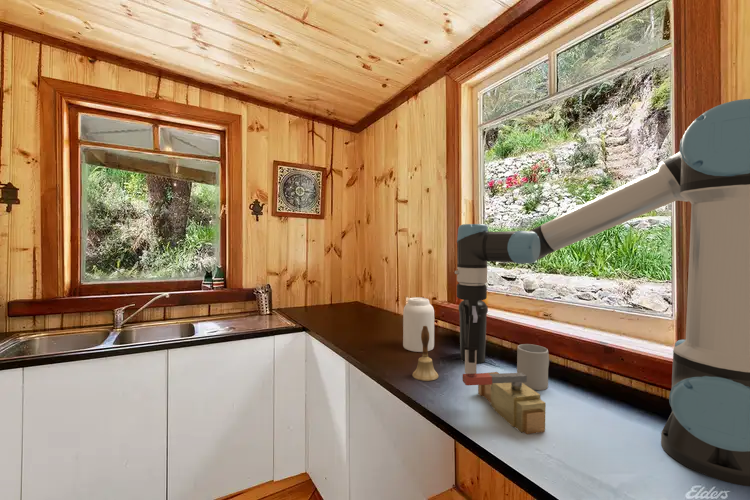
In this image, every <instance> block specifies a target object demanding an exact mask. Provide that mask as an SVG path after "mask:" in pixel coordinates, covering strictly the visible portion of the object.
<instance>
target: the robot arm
mask: <svg viewBox="0 0 750 500" xmlns="http://www.w3.org/2000/svg"><path fill="white" fill-rule="evenodd" d="M676 201H678V202H679V201H681V202H689V203H690V204H691V205H690V207H691V209H690V210H691V211H690V228H689V229H690V231H689V232H690V233H689V251H688V253H689V255H688V277H687V301H686V302H687V303H686V321H685V323H686V324H685V339H679V340H677V341H676V342H675V343H674V347H673V348H672V349H673V351H672V353H673V355H672V374H671V390H670V391H669V396H668V402H669V406H670V407H671V413H670V415H669V417H668V419H667V421H666V422H665V424H664V426H663V428H662V430H661V436H660V444H661V448H662V449H663V451H665V453H667V454H668V455H669V457H671V458H673V459H674V460H675V461H677V462H678V463H680V464H681V465H683V466H685V467H687V468H688V469H690V470H693V471H695V472H697V473H699V474H702V475H705V476H707V477H709V478H712V479H715V480H717V481H721V482H725V483H729V484H732V485H733V484H734V485H737V486H741V487H742V486H743V487H750V98H744V99H743V98H742V99H736V100H735V99H734V100H731V101H729V102H728V101H727V102H724V103H721V104H718V105H716V106H714V107H712V108H710V109H708V110H706V111H705V112H703V113H702V114H700V115H699V116H697V118H695V119H694V120H693V121H692V123H691V124H690V125H688V127H687V128H686V130H685V131H684V133H683V135H682V138H681V139H680V143H679V151H678V152H677V153H675V154H673V155H671V156H669V157H668V158H665V159H663V160H661V161H660V162H659V164H658V166H657V168H656V169H654V170H652V171H650V172H648V173H646V174H644V175H642V176H640V177H637V178H636V179H634V180H631V181H629V182H627V183H626V184H623V185H621V186H619V187H617V188H614V189H613V190H610V191H608V192H607V193H605V194H603V195H602V194H601V196H598V197H596V198H594V199H592V200H589V201H588V202H586V203H584V204H581V205H580V206H577V207H575V208H573V209H571V210H569V211H567V212H565V213H563V214H561V215H558V216H556V217H555V218H553V219H550V220H549V221H547V222H545V223H543V224H540V225H539V226H536V227H533V228H532V229H530V230H509V231H508V230H507V231H506V230H505V231H489V227H488V225H487V224H484V223H465V224H460V225H459V226H458V228H457V240H456V246H457V247H456V248H457V253H456V255H457V256H456V257H457V259H456V260H457V262H456V264H457V265H456V269H457V270H454V274H455V275H456V281H457V284H456V297H457V299H459V300H461V301H463V300H465V305H463V313H464V318H463V319H464V342H465V347H464V350H465V362H464V374H475V373H477V364H476V362H477V350H478V349H479V347H478V345H479V329H480V320H481V316H480V315H479V314H480V307H479V306H478V301H479V300H482V301H485V300H486V299H487V292H488V289H487V288H488V286H487V285H486V284H487V282H488V263H490V262H491V263H493V262H496V263H508V264H518V265H521V264H534V263H536V262H537V261H538V260H541V259H544V258H545V257H546V256H547V255H549V254H552V253H554V252H556V251H558V250H562V249H563V248H566V247H568V246H570V245H573V244H575V243H578V242H581V241H583V240H586V239H588V238H590V237H593V236H595V235H597V234H600V233H602V232H604V231H607V230H609V229H611V228H614V227H617V226H619V225H622V224H623V223H626V222H629V221H631V220H633V219H636V218H638V217H641V216H642V215H645V214H648V213H650V212H652V211H655V210H657V209H660V208H662V207H664V206H667V205H670V204H672V203H675V202H676Z"/></svg>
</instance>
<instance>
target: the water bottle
mask: <svg viewBox="0 0 750 500" xmlns="http://www.w3.org/2000/svg"><path fill="white" fill-rule="evenodd" d="M463 305H465V300H461V302H460V303H459V304H458V312H459V343H460V344H459V345H460V346H459V349H460V350H459V351H460V352H459V354H460V360H461V362H463V363H465V350H464V347H465V342H464V319H463V318H464V313H463ZM478 306H479V307H480V314H479V315H480V316H481V320H480V329H479V345H478V347H479V349H478V350H477V362H476V365H478V364H480V365H481V364H484V363H485V360H486V339H487V315H488V312H489V311H488V309H489V307H488V305H487V303H486V302H485V301H484V300H479V301H478Z"/></svg>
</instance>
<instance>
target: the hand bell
mask: <svg viewBox="0 0 750 500" xmlns="http://www.w3.org/2000/svg"><path fill="white" fill-rule="evenodd" d="M421 340H422V344H423V352H422V356H421V357H419V358H418V359H417V366H416V369H415V370H414V371H413V372H412V375H411V376H412V377H413V379H416V380H418V381H422V382H431V381H435V380H438V378H439V373H438V372H437V371H436V370H435V368H434V363H433V359H432V358H431V357H429V351H428V342H429V331H428V328H427V326H423V329H422V333H421Z"/></svg>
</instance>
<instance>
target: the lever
mask: <svg viewBox="0 0 750 500" xmlns="http://www.w3.org/2000/svg"><path fill="white" fill-rule="evenodd" d="M488 373H489V372H482V373H481V372H479V373H477V372H476V373H475V374H466V373H462V382H463V384H464V385H465V386H478V385H491V384H492V383H511V388H512V389H513V390H515V391H521V390H522V382H527V376H526V375H525V374H523V373H517V372H505V373H504V372H503V373H499V374H488Z"/></svg>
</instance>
